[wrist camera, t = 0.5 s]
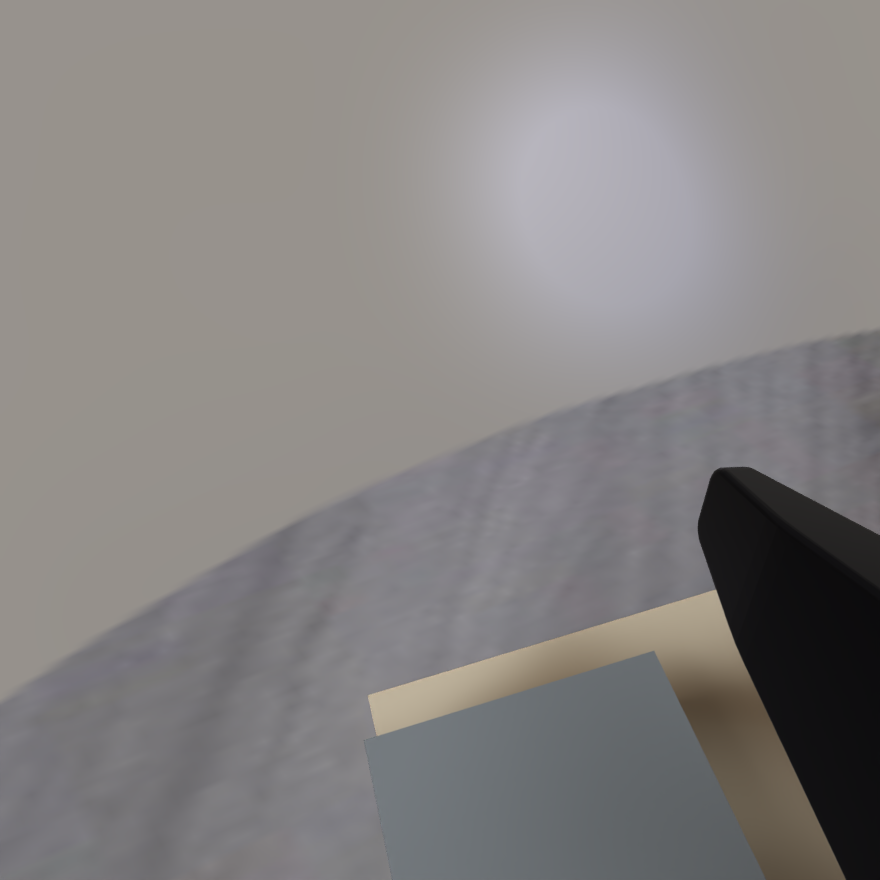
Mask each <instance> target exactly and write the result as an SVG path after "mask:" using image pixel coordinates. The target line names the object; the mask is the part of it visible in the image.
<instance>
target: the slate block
mask: <svg viewBox="0 0 880 880" xmlns="http://www.w3.org/2000/svg"><path fill="white" fill-rule="evenodd" d="M364 744H365V749H366V754H367V759H368V764H369V768H370V773H371V778H372V783H373V788H374V793H375V798H376V803H377V808H378V813H379V818H380V822H381V827H382V832H383V837H384V842H385V847H386V852H387V857H388V862H389V867H390V872H391V876H392V880H766V878H765V876H764V874H763V872H762V870H761V868H760V866H759V864H758V862H757V860H756V858H755V856H754V854H753V852H752V850H751V848H750V846H749V844H748V842H747V840H746V837H745V835H744V833H743V831H742V829H741V827H740V825H739V823H738V821H737V819H736V817H735V815H734V813H733V811H732V809H731V807H730V805H729V803H728V801H727V799H726V797H725V795H724V793H723V790H722V788H721V786H720V784H719V782H718V780H717V778H716V776H715V774H714V772H713V770H712V768H711V766H710V764H709V762H708V760H707V758H706V756H705V754H704V752H703V750H702V748H701V746H700V743H699V741H698V739H697V737H696V735H695V733H694V731H693V729H692V727H691V725H690V723H689V721H688V719H687V717H686V715H685V713H684V711H683V709H682V707H681V705H680V703H679V701H678V698H677V696H676V694H675V692H674V690H673V688H672V686H671V684H670V682H669V680H668V678H667V676H666V674H665V672H664V670H663V668H662V666H661V664H660V662H659V660H658V658H657V656H656V654H655V651H651V652H648V653H645V654H641V655H638V656H635V657H632V658H628V659H625V660H622V661H619V662H615V663H612V664H609V665H606V666H603V667H599V668H596V669H593V670H590V671H586V672H583V673H580V674H577V675H573V676H570V677H567V678H564V679H560V680H557V681H554V682H551V683H547V684H544V685H541V686H538V687H535V688H531V689H528V690H525V691H522V692H518V693H515V694H512V695H509V696H505V697H502V698H499V699H496V700H492V701H489V702H486V703H483V704H480V705H476V706H473V707H470V708H467V709H463V710H460V711H457V712H454V713H450V714H447V715H444V716H441V717H437V718H434V719H431V720H428V721H424V722H421V723H418V724H415V725H412V726H408V727H405V728H402V729H399V730H395V731H392V732H389V733H386V734H382V735H379V736H376V737H373V738H369V739H366V740H364Z"/></svg>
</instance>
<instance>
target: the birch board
mask: <svg viewBox="0 0 880 880" xmlns="http://www.w3.org/2000/svg"><path fill="white" fill-rule="evenodd" d="M651 651H655V654H656V656H657V658H658V660H659V662H660V664H661V666H662V668H663V670H664V672H665V674H666V676H667V678H668V680H669V682H670V684H671V686H672V688H673V690H674V692H675V694H676V696H677V698H678V701H679V703H680V705H681V707H682V709H683V711H684V713H685V715H686V717H687V719H688V721H689V723H690V725H691V727H692V729H693V731H694V733H695V735H696V737H697V739H698V741H699V743H700V746H701V748H702V750H703V752H704V754H705V756H706V758H707V760H708V762H709V764H710V766H711V768H712V770H713V772H714V774H715V776H716V778H717V780H718V782H719V784H720V786H721V788H722V790H723V793H724V795H725V797H726V799H727V801H728V803H729V805H730V807H731V809H732V811H733V813H734V815H735V817H736V819H737V821H738V823H739V825H740V827H741V829H742V831H743V833H744V835H745V837H746V840H747V842H748V844H749V846H750V848H751V850H752V852H753V854H754V856H755V858H756V860H757V862H758V864H759V866H760V868H761V870H762V872H763V874H764V876H765V878H766V880H846V879H845V877H844V875H843V873H842V871H841V868H840V866H839V864H838V862H837V860H836V858H835V856H834V854H833V852H832V849H831V847H830V845H829V843H828V841H827V839H826V837H825V835H824V832H823V830H822V828H821V826H820V824H819V822H818V820H817V818H816V815H815V813H814V811H813V809H812V807H811V805H810V803H809V801H808V798H807V796H806V794H805V792H804V790H803V788H802V786H801V784H800V782H799V779H798V777H797V775H796V773H795V771H794V769H793V767H792V765H791V762H790V760H789V758H788V756H787V754H786V752H785V750H784V748H783V745H782V743H781V741H780V739H779V737H778V735H777V733H776V731H775V729H774V726H773V724H772V722H771V720H770V718H769V716H768V714H767V712H766V709H765V707H764V705H763V703H762V701H761V699H760V697H759V695H758V692H757V690H756V688H755V686H754V684H753V682H752V680H751V678H750V675H749V673H748V671H747V669H746V667H745V665H744V663H743V661H742V658H741V656H740V654H739V651H738V649H737V647H736V645H735V642H734V639H733V637H732V634H731V631H730V629H729V626H728V623H727V620H726V617H725V614H724V611H723V608H722V605H721V603H720V600H719V597H718V594H717V591H716V590H713V591H710V592H707V593H703V594H700V595H697V596H693V597H690V598H687V599H684V600H680V601H677V602H674V603H670V604H667V605H664V606H661V607H657V608H654V609H651V610H647V611H644V612H641V613H637V614H634V615H631V616H628V617H624V618H621V619H618V620H614V621H611V622H608V623H605V624H601V625H598V626H595V627H591V628H588V629H585V630H582V631H578V632H575V633H572V634H568V635H565V636H562V637H558V638H555V639H552V640H549V641H545V642H542V643H539V644H535V645H532V646H529V647H526V648H522V649H519V650H516V651H512V652H509V653H506V654H503V655H499V656H496V657H493V658H489V659H486V660H483V661H479V662H476V663H473V664H470V665H466V666H463V667H460V668H456V669H453V670H450V671H447V672H443V673H440V674H437V675H433V676H430V677H427V678H423V679H420V680H417V681H414V682H410V683H407V684H404V685H400V686H397V687H394V688H391V689H387V690H384V691H381V692H377V693H374V694H371V695H368V698H369V703H370V707H371V712H372V717H373V721H374V726H375V731H376V735H377V736H379V735H382V734H386V733H389V732H392V731H395V730H399V729H402V728H405V727H408V726H412V725H415V724H418V723H421V722H424V721H428V720H431V719H434V718H437V717H441V716H444V715H447V714H450V713H454V712H457V711H460V710H463V709H467V708H470V707H473V706H476V705H480V704H483V703H486V702H489V701H492V700H496V699H499V698H502V697H505V696H509V695H512V694H515V693H518V692H522V691H525V690H528V689H531V688H535V687H538V686H541V685H544V684H547V683H551V682H554V681H557V680H560V679H564V678H567V677H570V676H573V675H577V674H580V673H583V672H586V671H590V670H593V669H596V668H599V667H603V666H606V665H609V664H612V663H615V662H619V661H622V660H625V659H628V658H632V657H635V656H638V655H641V654H645V653H648V652H651Z"/></svg>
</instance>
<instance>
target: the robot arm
mask: <svg viewBox="0 0 880 880" xmlns="http://www.w3.org/2000/svg"><path fill="white" fill-rule="evenodd" d="M698 536H699V540H700V544H701V547H702V550H703V553H704V556H705V558H706V561H707V564H708V567H709V570H710V573H711V576H712V579H713V582H714V585H715V588H716V591H717V594H718V597H719V600H720V603H721V605H722V608H723V611H724V614H725V617H726V620H727V623H728V626H729V629H730V631H731V634H732V637H733V639H734V642H735V645H736V647H737V649H738V651H739V654H740V656H741V658H742V661H743V663H744V665H745V667H746V669H747V671H748V673H749V675H750V678H751V680H752V682H753V684H754V686H755V688H756V690H757V692H758V695H759V697H760V699H761V701H762V703H763V705H764V707H765V709H766V712H767V714H768V716H769V718H770V720H771V722H772V724H773V726H774V729H775V731H776V733H777V735H778V737H779V739H780V741H781V743H782V745H783V748H784V750H785V752H786V754H787V756H788V758H789V760H790V762H791V765H792V767H793V769H794V771H795V773H796V775H797V777H798V779H799V782H800V784H801V786H802V788H803V790H804V792H805V794H806V796H807V798H808V801H809V803H810V805H811V807H812V809H813V811H814V813H815V815H816V818H817V820H818V822H819V824H820V826H821V828H822V830H823V832H824V835H825V837H826V839H827V841H828V843H829V845H830V847H831V849H832V852H833V854H834V856H835V858H836V860H837V862H838V864H839V866H840V868H841V871H842V873H843V875H844V877H845V879H846V880H880V535H878V534H876V533H874V532H873V531H871V530H869V529H867V528H865V527H863V526H861V525H859V524H857V523H855V522H853V521H852V520H850V519H848V518H846V517H844V516H842V515H840V514H838V513H836V512H834V511H833V510H831V509H829V508H827V507H825V506H823V505H821V504H819V503H817V502H815V501H813V500H812V499H810V498H808V497H806V496H804V495H802V494H800V493H798V492H796V491H794V490H793V489H791V488H789V487H787V486H785V485H783V484H781V483H779V482H777V481H775V480H774V479H772V478H770V477H768V476H766V475H764V474H762V473H760V472H758V471H756V470H754V469H752V468H749V467H727V468H719V469H717V470H716V471H714V473H713V474H712V476H711V478H710V481H709V485H708V488H707V492H706V495H705V499H704V502H703V506H702V509H701V513H700V516H699V520H698Z"/></svg>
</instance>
